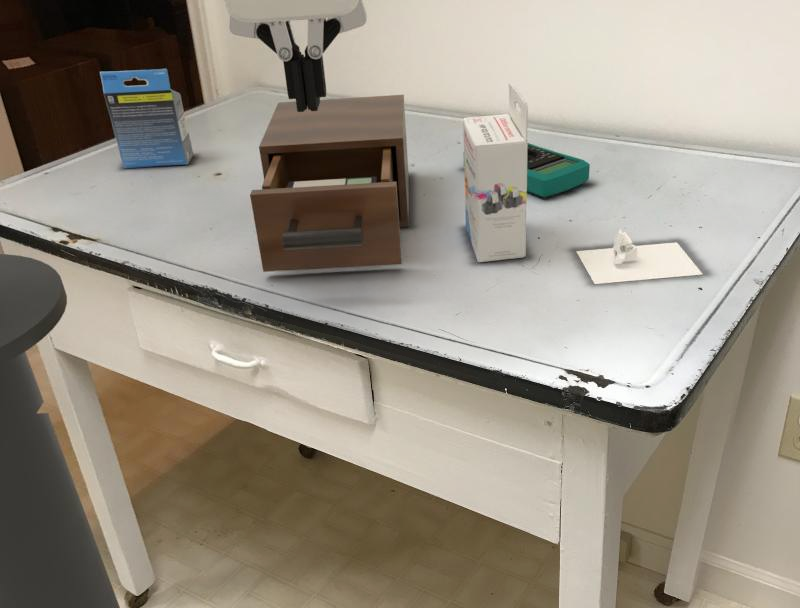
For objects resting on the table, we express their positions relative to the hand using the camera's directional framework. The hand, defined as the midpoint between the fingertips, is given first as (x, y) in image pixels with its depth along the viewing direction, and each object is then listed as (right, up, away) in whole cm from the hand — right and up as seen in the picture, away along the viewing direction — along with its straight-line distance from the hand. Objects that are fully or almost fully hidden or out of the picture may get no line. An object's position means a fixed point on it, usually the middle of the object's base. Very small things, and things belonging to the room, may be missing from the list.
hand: (309, 106), depth 70 cm
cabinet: (+1, -2, +27) cm, 27 cm away
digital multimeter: (+22, +2, +31) cm, 38 cm away
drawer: (+1, -9, +16) cm, 18 cm away
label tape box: (-25, +7, +43) cm, 50 cm away
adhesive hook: (+30, -11, +11) cm, 34 cm away
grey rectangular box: (+1, -7, +16) cm, 17 cm away
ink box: (+17, -9, +16) cm, 25 cm away
